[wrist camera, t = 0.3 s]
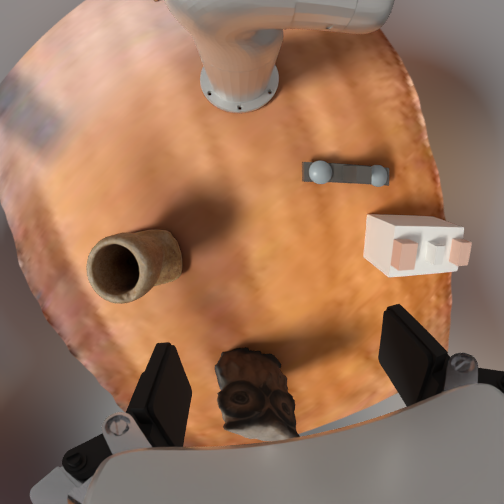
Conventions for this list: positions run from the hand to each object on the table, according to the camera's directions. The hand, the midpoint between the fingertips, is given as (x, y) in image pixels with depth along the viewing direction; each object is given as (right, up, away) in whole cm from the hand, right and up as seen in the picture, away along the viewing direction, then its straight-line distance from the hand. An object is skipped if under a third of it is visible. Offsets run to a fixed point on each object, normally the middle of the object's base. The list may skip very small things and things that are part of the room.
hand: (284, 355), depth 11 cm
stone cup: (-21, +4, +35) cm, 41 cm away
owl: (-2, -20, +43) cm, 48 cm away
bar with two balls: (+14, +18, +32) cm, 39 cm away
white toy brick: (+27, +8, +36) cm, 45 cm away
